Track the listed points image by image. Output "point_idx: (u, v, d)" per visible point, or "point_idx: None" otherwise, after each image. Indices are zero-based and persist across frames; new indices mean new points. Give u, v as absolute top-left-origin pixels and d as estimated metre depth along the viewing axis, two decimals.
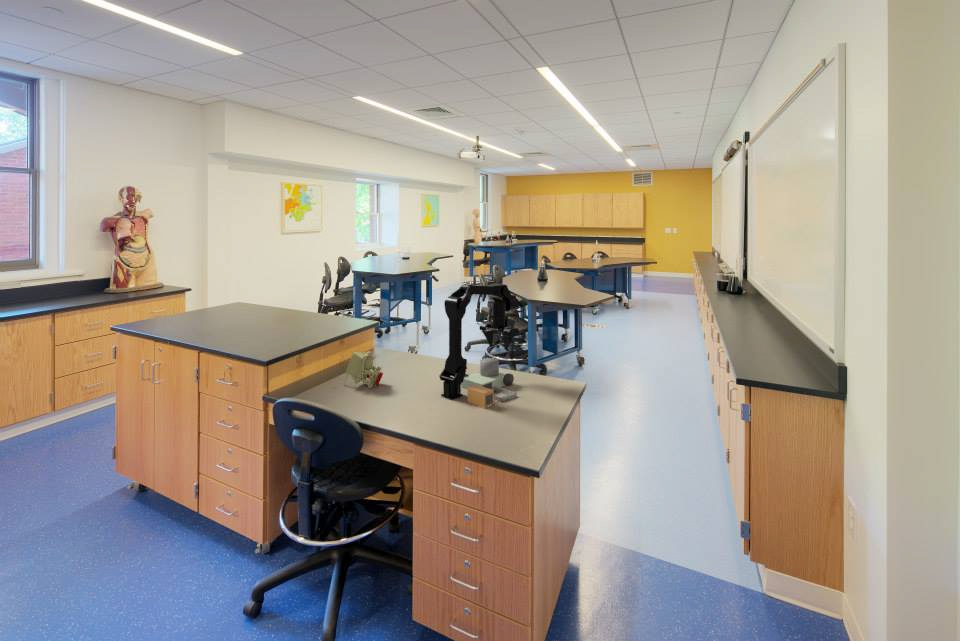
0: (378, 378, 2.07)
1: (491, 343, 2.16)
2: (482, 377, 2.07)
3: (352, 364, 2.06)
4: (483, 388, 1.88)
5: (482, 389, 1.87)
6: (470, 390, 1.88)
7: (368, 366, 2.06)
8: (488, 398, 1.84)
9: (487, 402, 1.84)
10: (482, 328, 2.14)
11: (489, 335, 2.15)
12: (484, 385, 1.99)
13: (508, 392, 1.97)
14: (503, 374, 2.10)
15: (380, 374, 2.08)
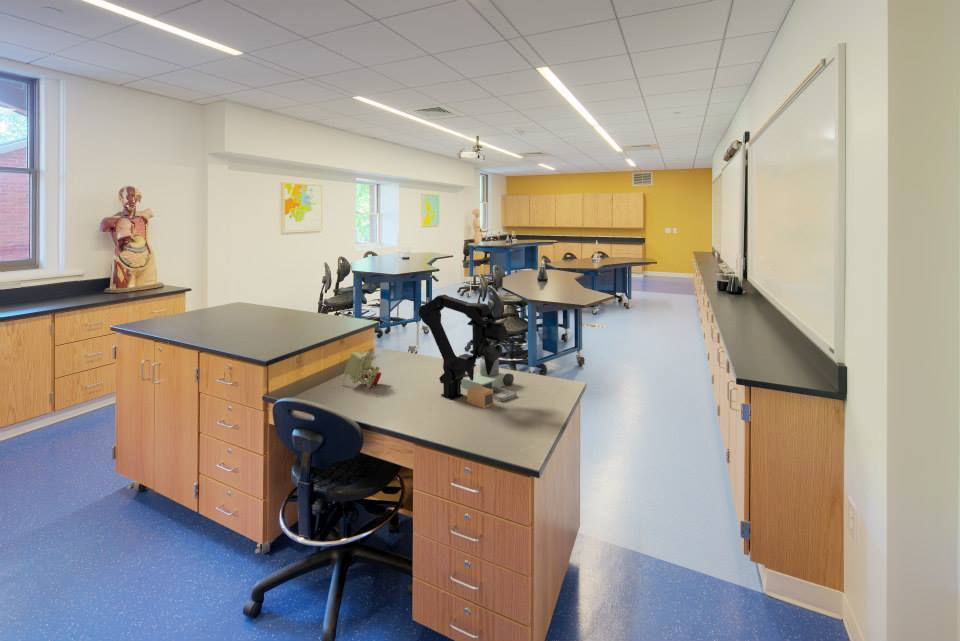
0: (376, 378, 2.07)
1: (488, 371, 1.89)
2: (482, 377, 2.07)
3: (350, 364, 2.06)
4: (483, 388, 1.88)
5: (482, 389, 1.87)
6: (470, 390, 1.88)
7: (366, 366, 2.06)
8: (488, 398, 1.84)
9: (487, 402, 1.84)
10: None
11: (487, 361, 1.89)
12: (484, 385, 1.99)
13: (508, 392, 1.97)
14: (503, 374, 2.10)
15: (378, 374, 2.08)
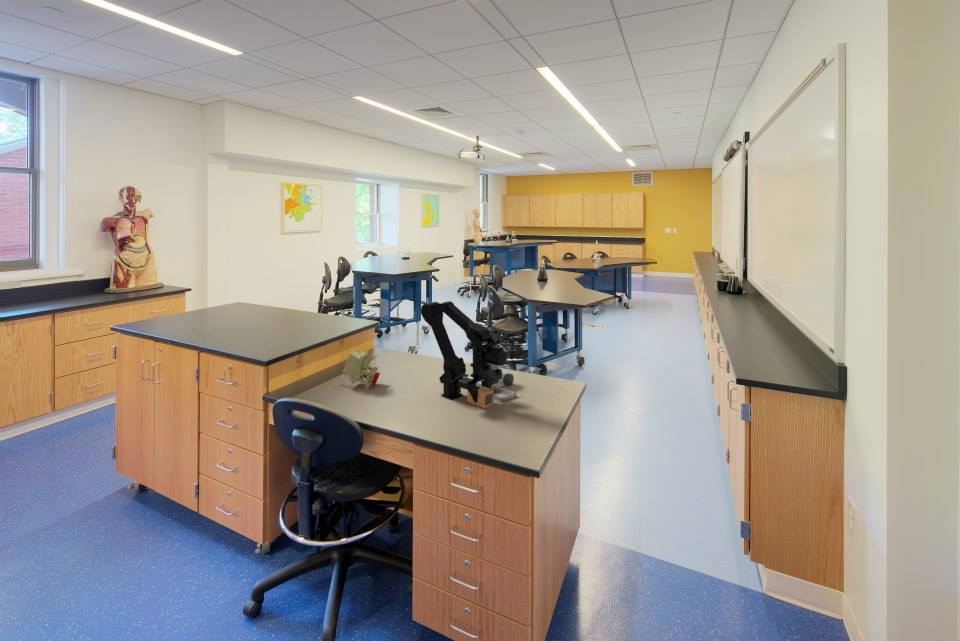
0: (375, 378, 2.07)
1: None
2: None
3: (348, 364, 2.06)
4: (483, 388, 1.88)
5: (482, 389, 1.87)
6: None
7: (365, 366, 2.06)
8: (488, 398, 1.84)
9: (487, 402, 1.84)
10: None
11: (484, 385, 1.90)
12: None
13: (508, 392, 1.97)
14: (503, 374, 2.10)
15: (377, 374, 2.08)
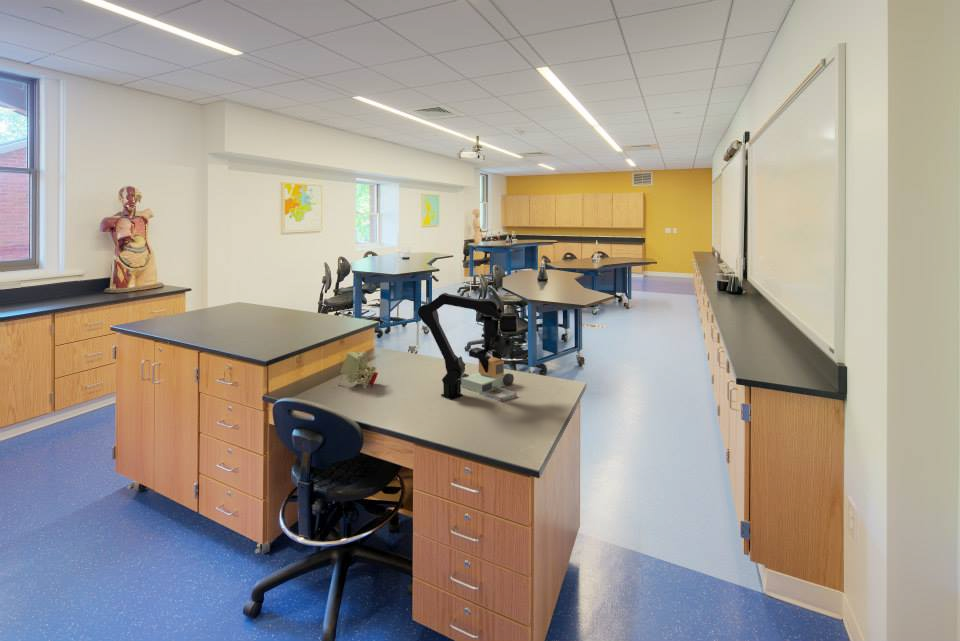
0: (373, 378, 2.07)
1: None
2: (482, 377, 2.07)
3: (346, 364, 2.06)
4: (494, 358, 1.91)
5: (492, 359, 1.90)
6: None
7: (363, 366, 2.06)
8: (498, 368, 1.87)
9: (497, 371, 1.87)
10: None
11: (495, 356, 1.93)
12: (484, 385, 1.99)
13: (508, 392, 1.97)
14: None
15: (375, 374, 2.08)
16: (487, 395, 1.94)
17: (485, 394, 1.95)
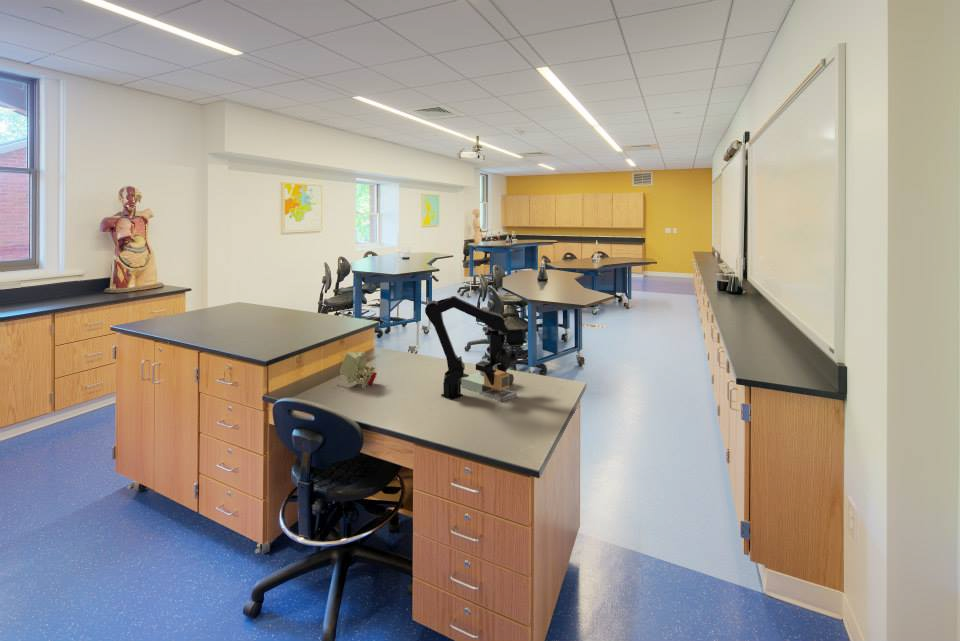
0: (372, 378, 2.07)
1: None
2: (482, 377, 2.07)
3: (345, 364, 2.06)
4: (499, 371, 1.96)
5: (498, 372, 1.95)
6: None
7: (362, 366, 2.06)
8: (504, 380, 1.92)
9: (503, 384, 1.92)
10: None
11: (500, 369, 1.98)
12: (484, 385, 1.99)
13: (508, 392, 1.97)
14: None
15: (374, 374, 2.08)
16: (487, 395, 1.94)
17: (485, 394, 1.95)
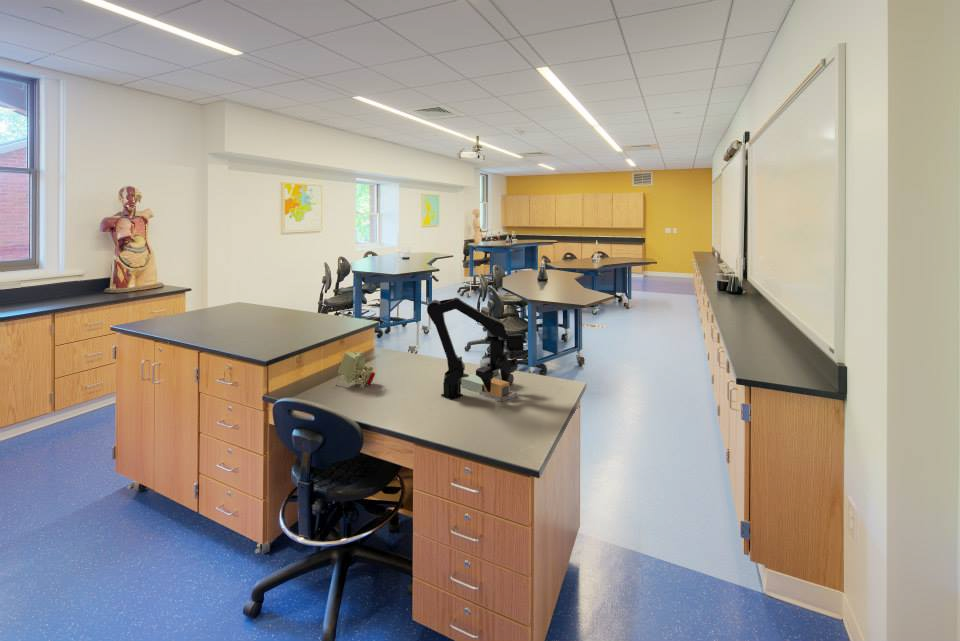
0: (370, 378, 2.07)
1: None
2: None
3: (344, 364, 2.06)
4: (499, 380, 1.96)
5: (498, 381, 1.95)
6: None
7: (360, 366, 2.06)
8: (504, 390, 1.93)
9: (503, 394, 1.93)
10: None
11: (503, 373, 2.00)
12: None
13: None
14: None
15: (372, 374, 2.08)
16: (487, 395, 1.94)
17: (485, 394, 1.95)
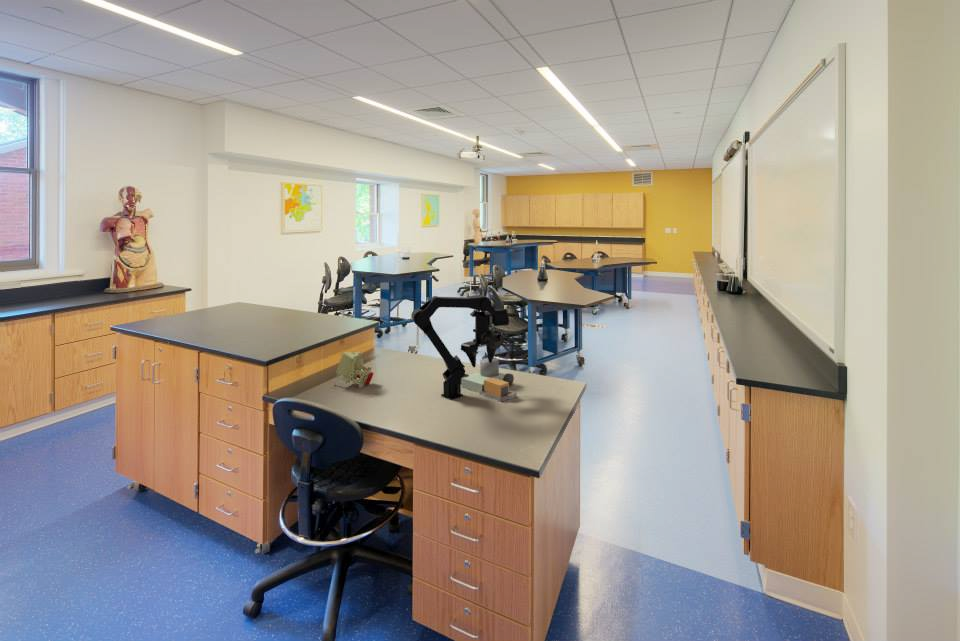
0: (368, 378, 2.07)
1: (489, 359, 2.00)
2: (482, 377, 2.07)
3: (342, 364, 2.06)
4: (499, 380, 1.96)
5: (498, 381, 1.95)
6: (486, 382, 1.96)
7: (358, 366, 2.06)
8: (504, 390, 1.93)
9: (503, 394, 1.93)
10: None
11: (489, 350, 2.00)
12: None
13: None
14: (503, 374, 2.10)
15: (370, 374, 2.08)
16: (487, 395, 1.94)
17: (485, 394, 1.95)
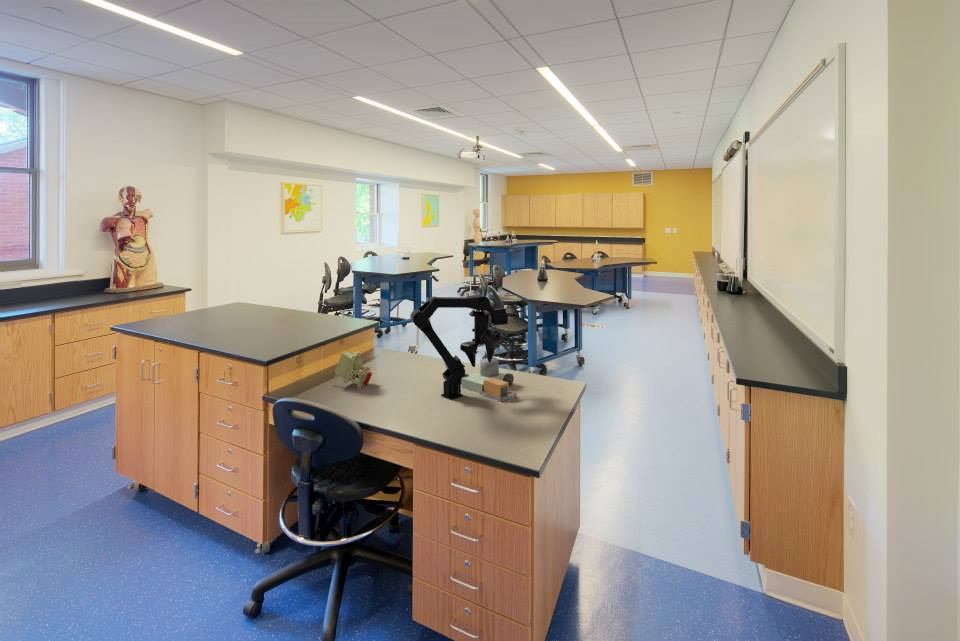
0: (367, 378, 2.07)
1: (489, 358, 2.01)
2: (482, 377, 2.07)
3: (340, 364, 2.06)
4: (498, 380, 1.96)
5: (497, 381, 1.95)
6: (486, 382, 1.96)
7: (357, 366, 2.06)
8: (503, 390, 1.93)
9: (502, 394, 1.93)
10: None
11: (488, 349, 2.01)
12: None
13: (508, 392, 1.97)
14: (503, 374, 2.10)
15: (369, 374, 2.08)
16: (487, 395, 1.94)
17: (485, 394, 1.95)
